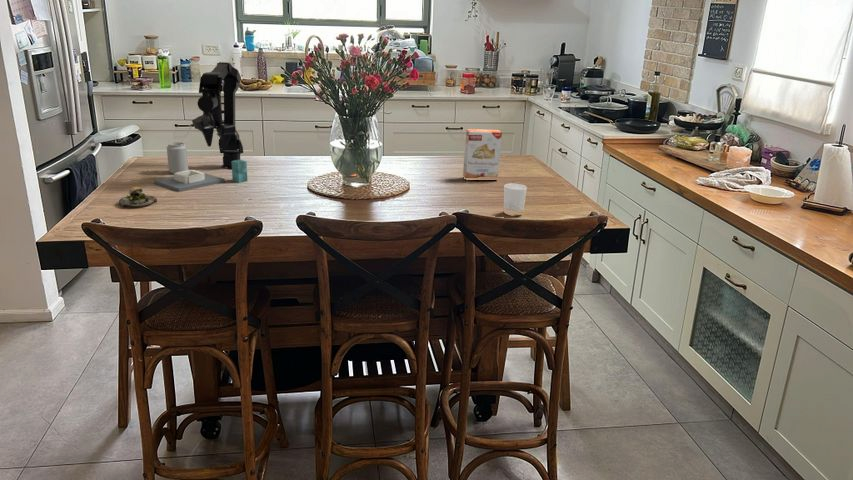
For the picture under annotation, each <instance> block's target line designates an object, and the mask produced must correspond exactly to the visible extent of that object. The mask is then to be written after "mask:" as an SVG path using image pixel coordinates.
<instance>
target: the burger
mask: <svg viewBox="0 0 853 480" xmlns="http://www.w3.org/2000/svg"><path fill="white" fill-rule="evenodd" d="M132 184H133V187H131V188H130V189H129V191H128V193H129V194H127V195H126V196H125V197H121V198H120V199H119V200H118V202H119V203H120V204H119V205H120V207H121V208H122V209H124V208H125V206H127V207H143V206H148V205H150V204H151V205H152V203H154V202H155V203H158V200H157V199H158V198H156V197H155V196H153V195H147V194H145V193H144V192H143V188H142V187H140V186H135V185H134V183H132ZM142 192H143V193H142Z"/></svg>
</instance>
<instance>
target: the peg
mask: <svg viewBox="0 0 853 480" xmlns="http://www.w3.org/2000/svg"><path fill="white" fill-rule="evenodd" d="M231 162H232V169H231V175H232V176H231V177H232V178H231V179H232V182H234V183H237V184H242V183H245V182H248V167H247V166H248V163H247V161H246V160H244V159H240V160H234V161H231Z"/></svg>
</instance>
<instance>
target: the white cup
mask: <svg viewBox="0 0 853 480" xmlns="http://www.w3.org/2000/svg"><path fill="white" fill-rule="evenodd" d="M503 189H504V190H503V209H504V208H505V209H507V210H512V211H520V210H523V211H524V208H525V204H526V203H525V202H526V196H527V189H528V187H527V186H526V185H524V184H523V183H522V184H519V183H506V184H504V185H503Z"/></svg>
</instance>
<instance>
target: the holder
mask: <svg viewBox="0 0 853 480" xmlns="http://www.w3.org/2000/svg"><path fill="white" fill-rule="evenodd" d="M225 180H226V179H225V178H223V177H221V176H216V175H212V174H209V173H206V172H202V171H198V170H195V169H188V170H187V171H182V172H176V173H174V174H173V176H170V177H164V178H160V179H159V178H158V179H154V180H153V184H155V185H158V186H161V187H164V188H166V189H170V190H173V191H176V192H179V193H180V192H183V191H184V192H185V191H188V190H193V189H194V190H195V189H199V188H202V187H207V186H212V185H216V184H221V183H222V184H223V183H225V182H226V181H225Z"/></svg>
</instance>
